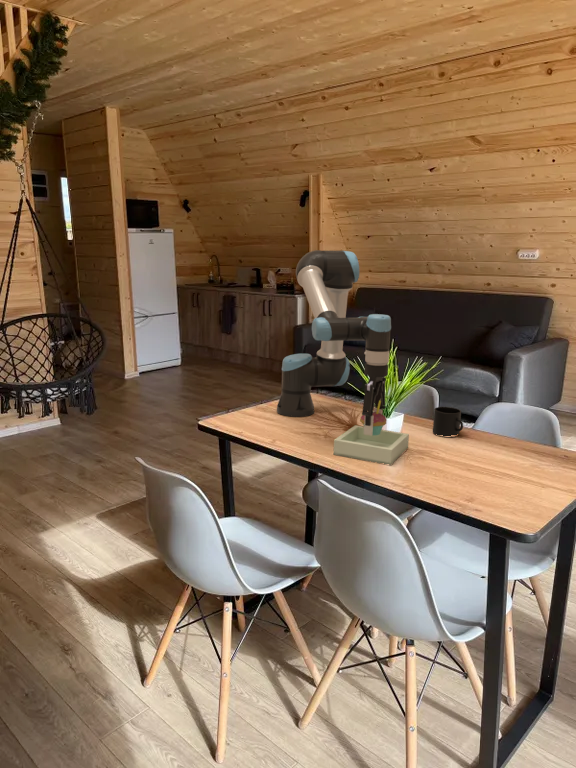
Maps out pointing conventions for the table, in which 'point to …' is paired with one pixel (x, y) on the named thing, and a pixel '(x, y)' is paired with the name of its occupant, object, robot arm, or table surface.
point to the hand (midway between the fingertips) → (372, 431)
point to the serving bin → (371, 445)
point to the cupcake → (376, 421)
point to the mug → (447, 421)
